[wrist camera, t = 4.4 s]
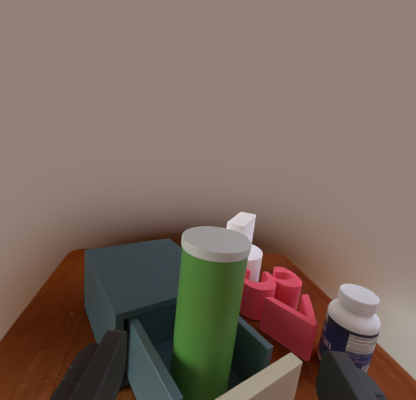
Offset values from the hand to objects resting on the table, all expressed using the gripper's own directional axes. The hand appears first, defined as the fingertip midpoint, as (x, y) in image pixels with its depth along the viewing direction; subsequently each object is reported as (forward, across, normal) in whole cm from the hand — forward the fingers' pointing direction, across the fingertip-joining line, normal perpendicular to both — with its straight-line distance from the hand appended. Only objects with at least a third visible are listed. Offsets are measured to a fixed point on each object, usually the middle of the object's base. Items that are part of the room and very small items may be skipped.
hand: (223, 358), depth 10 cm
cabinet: (+21, +7, +16) cm, 27 cm away
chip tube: (+11, 0, +14) cm, 18 cm away
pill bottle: (+17, -17, +16) cm, 29 cm away
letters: (+24, -11, +16) cm, 31 cm away
